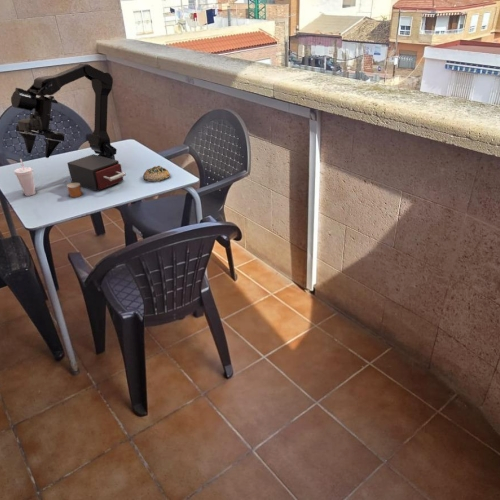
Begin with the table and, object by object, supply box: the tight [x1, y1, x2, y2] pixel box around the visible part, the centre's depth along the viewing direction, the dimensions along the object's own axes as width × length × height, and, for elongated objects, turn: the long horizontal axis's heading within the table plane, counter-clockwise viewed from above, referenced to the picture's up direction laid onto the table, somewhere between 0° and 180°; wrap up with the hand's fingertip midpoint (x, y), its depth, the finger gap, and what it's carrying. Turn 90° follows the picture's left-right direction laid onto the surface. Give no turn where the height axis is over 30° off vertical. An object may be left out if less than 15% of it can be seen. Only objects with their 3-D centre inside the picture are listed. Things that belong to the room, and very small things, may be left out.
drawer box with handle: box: [67, 153, 122, 192], centre depth 173 cm, size 16×13×9 cm
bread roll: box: [142, 165, 170, 182], centre depth 178 cm, size 11×11×5 cm
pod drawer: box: [94, 163, 127, 190], centre depth 171 cm, size 19×11×7 cm, turn 55°
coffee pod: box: [66, 182, 83, 198], centre depth 163 cm, size 5×5×4 cm
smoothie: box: [13, 158, 36, 197], centre depth 162 cm, size 6×6×14 cm
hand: (37, 155), depth 163 cm, fingers open, 9 cm apart
